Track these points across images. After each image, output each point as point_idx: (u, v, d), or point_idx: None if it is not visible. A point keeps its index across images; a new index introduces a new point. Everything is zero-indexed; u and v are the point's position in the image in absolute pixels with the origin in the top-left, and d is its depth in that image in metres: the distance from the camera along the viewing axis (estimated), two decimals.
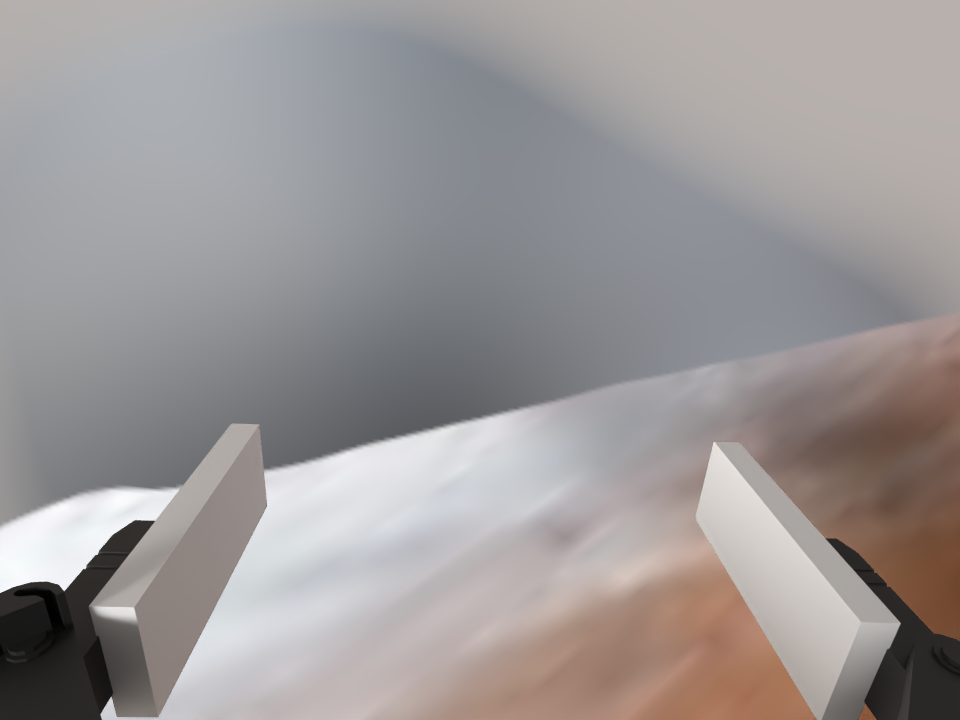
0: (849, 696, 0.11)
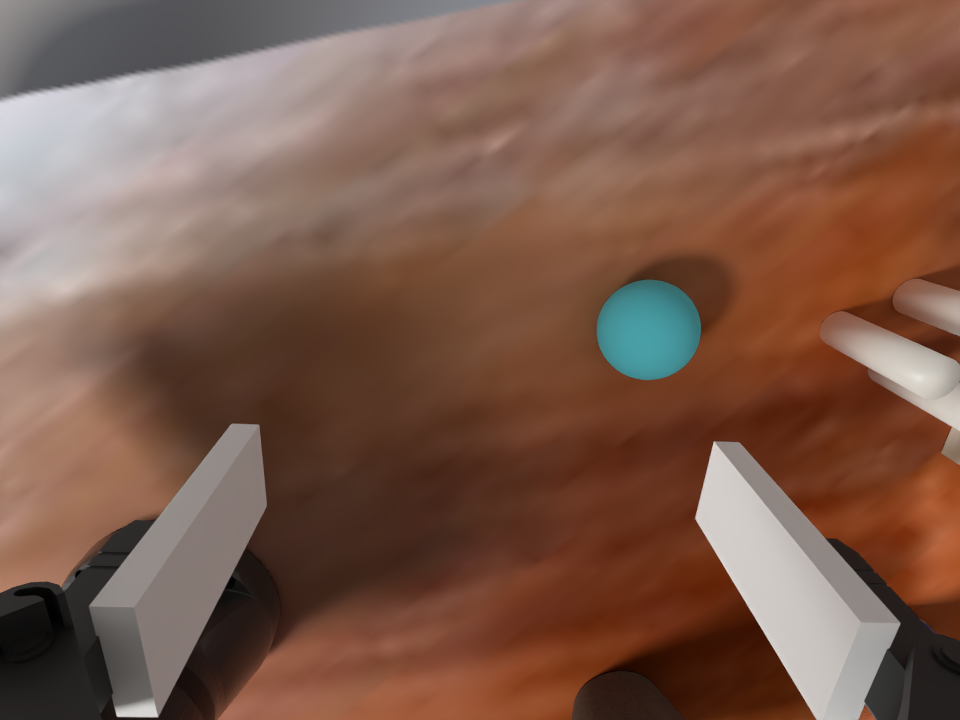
0: (849, 696, 0.11)
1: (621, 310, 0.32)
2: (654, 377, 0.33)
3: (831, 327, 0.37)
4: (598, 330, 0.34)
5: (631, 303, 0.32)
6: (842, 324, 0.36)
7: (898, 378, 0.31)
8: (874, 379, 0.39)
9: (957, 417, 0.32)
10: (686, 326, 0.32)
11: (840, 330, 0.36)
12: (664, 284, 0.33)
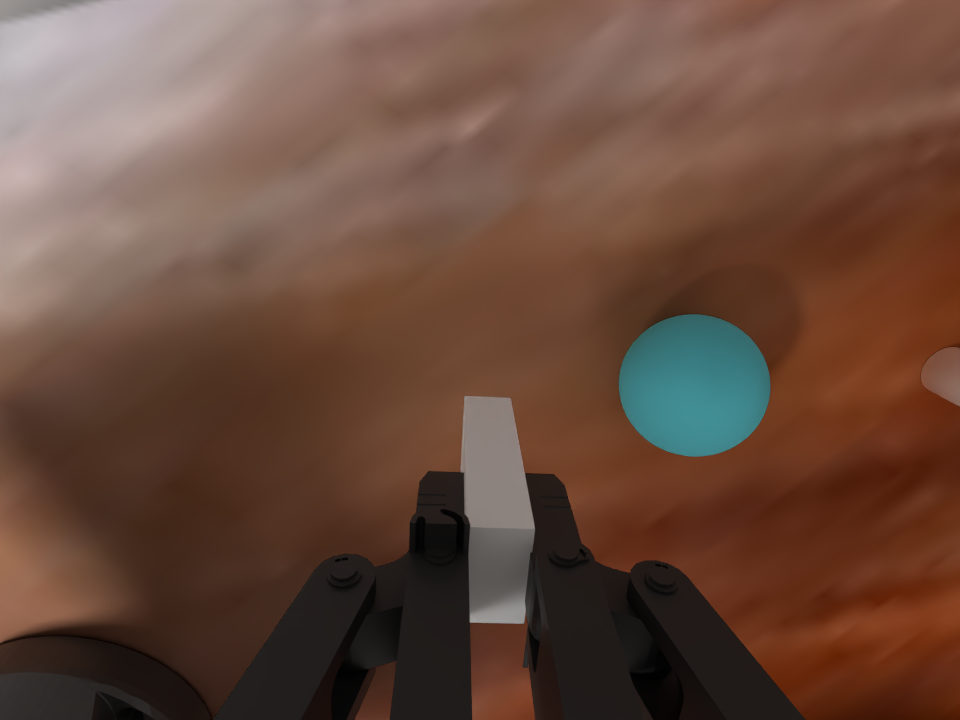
0: (509, 596, 0.13)
1: (656, 362, 0.22)
2: (704, 455, 0.23)
3: (941, 370, 0.27)
4: (622, 387, 0.24)
5: (671, 352, 0.22)
6: (959, 368, 0.26)
7: None
8: None
9: None
10: (753, 386, 0.22)
11: (957, 376, 0.26)
12: (717, 323, 0.23)
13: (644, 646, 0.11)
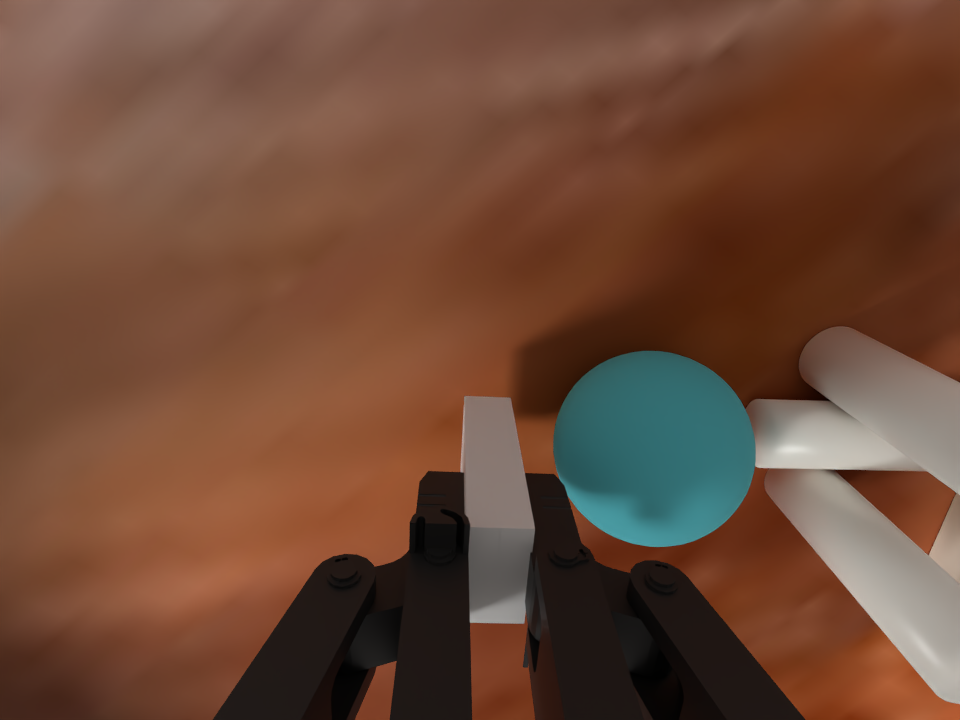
0: (510, 596, 0.13)
1: None
2: None
3: (806, 442, 0.19)
4: None
5: None
6: (824, 429, 0.19)
7: None
8: (774, 502, 0.22)
9: (901, 637, 0.15)
10: None
11: (830, 440, 0.19)
12: (644, 353, 0.17)
13: (644, 646, 0.11)
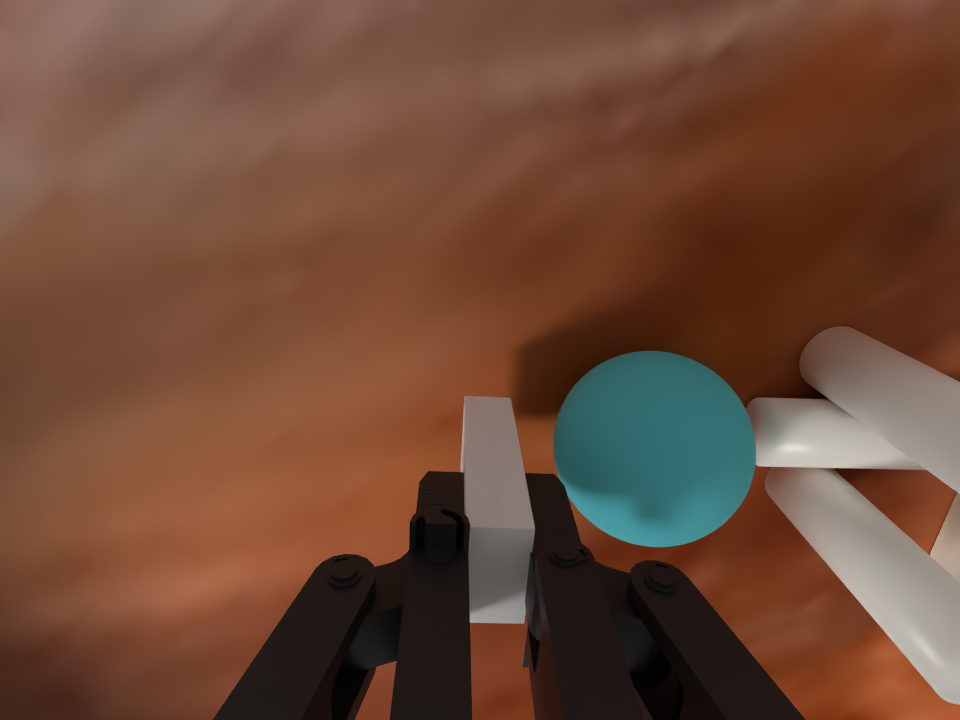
0: (509, 596, 0.13)
1: None
2: None
3: (807, 439, 0.19)
4: None
5: None
6: (824, 426, 0.19)
7: None
8: (775, 502, 0.22)
9: (903, 638, 0.15)
10: None
11: (831, 437, 0.19)
12: (644, 353, 0.17)
13: (644, 646, 0.11)
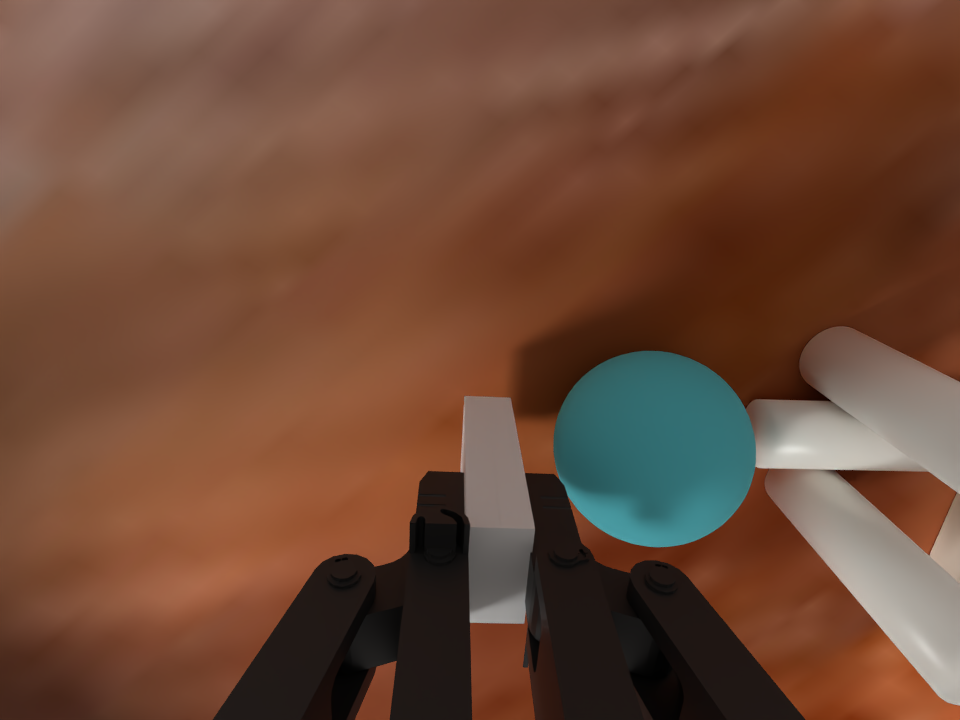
0: (509, 596, 0.13)
1: None
2: None
3: (806, 443, 0.19)
4: None
5: None
6: (824, 430, 0.19)
7: None
8: (775, 502, 0.22)
9: (903, 639, 0.15)
10: None
11: (831, 441, 0.19)
12: (644, 353, 0.17)
13: (644, 646, 0.11)
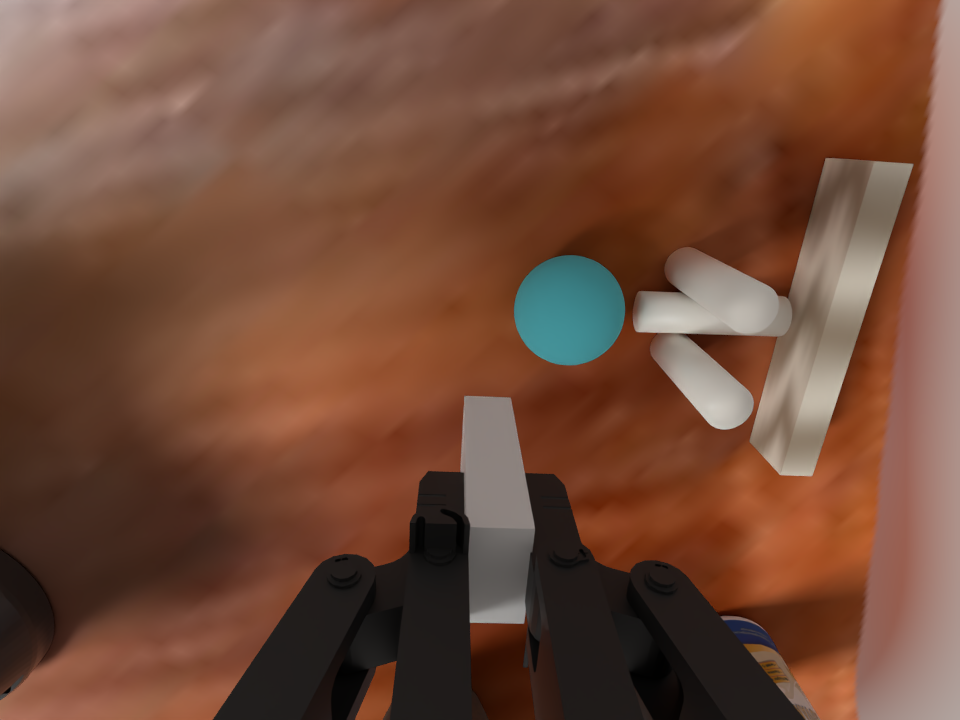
0: (509, 596, 0.13)
1: None
2: None
3: (663, 312, 0.32)
4: None
5: None
6: (673, 305, 0.32)
7: (764, 330, 0.33)
8: (655, 360, 0.35)
9: (695, 399, 0.29)
10: None
11: (677, 312, 0.32)
12: None
13: (644, 646, 0.11)
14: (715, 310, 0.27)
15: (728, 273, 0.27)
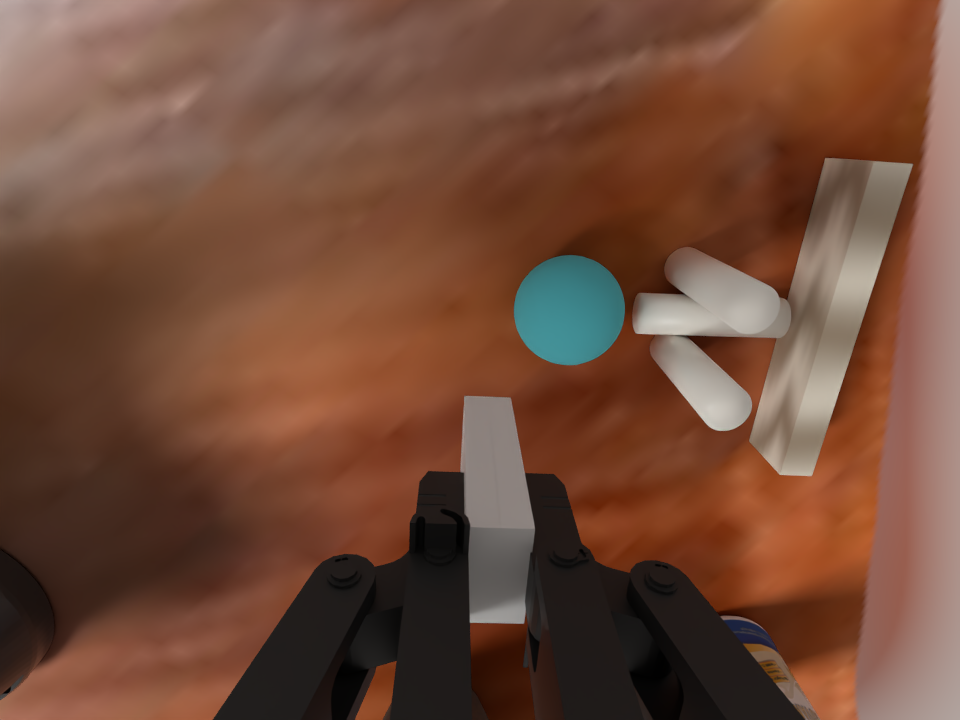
0: (509, 596, 0.13)
1: None
2: None
3: (662, 317, 0.32)
4: None
5: None
6: (673, 309, 0.32)
7: (763, 333, 0.33)
8: (655, 360, 0.35)
9: (693, 400, 0.29)
10: None
11: (676, 316, 0.32)
12: (564, 255, 0.31)
13: (644, 646, 0.11)
14: (716, 310, 0.27)
15: (728, 273, 0.27)
